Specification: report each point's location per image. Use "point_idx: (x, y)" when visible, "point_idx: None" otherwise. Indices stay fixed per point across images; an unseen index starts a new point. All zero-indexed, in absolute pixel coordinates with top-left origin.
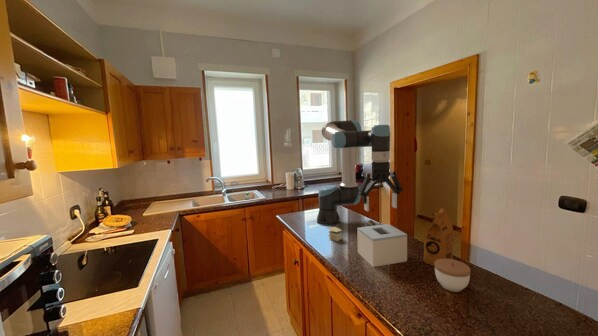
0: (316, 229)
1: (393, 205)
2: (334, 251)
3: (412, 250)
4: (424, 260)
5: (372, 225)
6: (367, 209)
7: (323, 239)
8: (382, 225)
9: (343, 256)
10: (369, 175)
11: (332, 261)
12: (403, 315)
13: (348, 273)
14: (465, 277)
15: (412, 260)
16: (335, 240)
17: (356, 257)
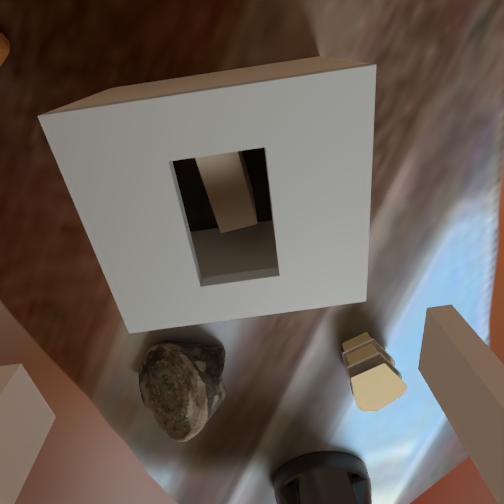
0: (396, 428)
1: (26, 416)
2: (423, 246)
3: (42, 202)
4: (7, 46)
5: (186, 399)
6: (465, 323)
7: (412, 352)
8: (179, 313)
9: (409, 193)
10: None
11: (485, 153)
12: None
13: (480, 6)
14: None
15: (76, 92)
16: (370, 337)
17: None
